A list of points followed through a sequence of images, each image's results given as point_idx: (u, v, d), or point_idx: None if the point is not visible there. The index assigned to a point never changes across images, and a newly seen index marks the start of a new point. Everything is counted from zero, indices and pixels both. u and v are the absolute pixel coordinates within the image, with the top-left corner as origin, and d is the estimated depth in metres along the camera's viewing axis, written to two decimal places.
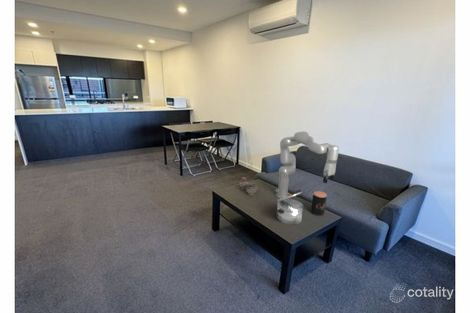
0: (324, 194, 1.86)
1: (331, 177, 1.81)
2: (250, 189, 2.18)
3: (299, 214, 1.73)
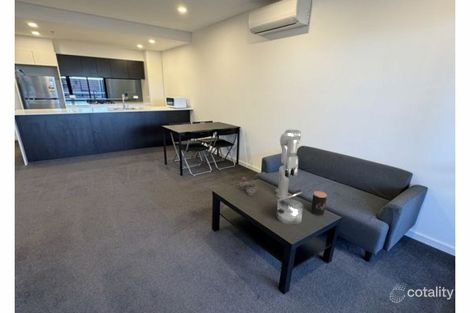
0: (324, 194, 1.86)
1: (291, 172, 1.77)
2: (250, 189, 2.18)
3: (299, 214, 1.73)
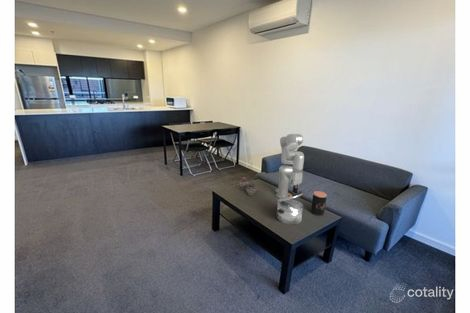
0: (324, 194, 1.86)
1: None
2: (250, 189, 2.18)
3: (299, 214, 1.73)
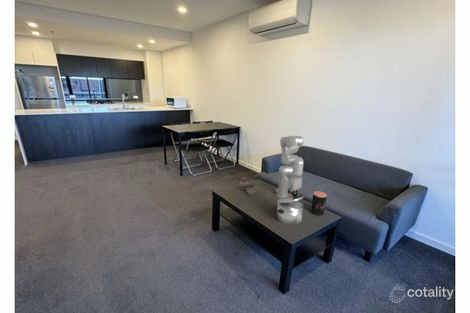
0: (324, 194, 1.86)
1: None
2: (250, 189, 2.18)
3: (299, 214, 1.73)
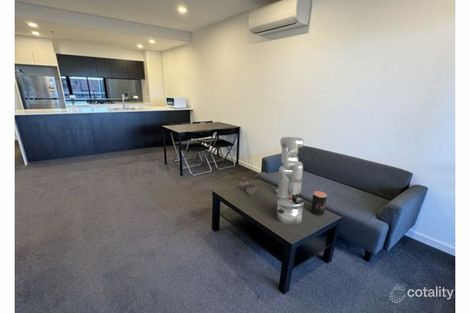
0: (324, 194, 1.86)
1: None
2: (250, 189, 2.18)
3: (299, 214, 1.73)
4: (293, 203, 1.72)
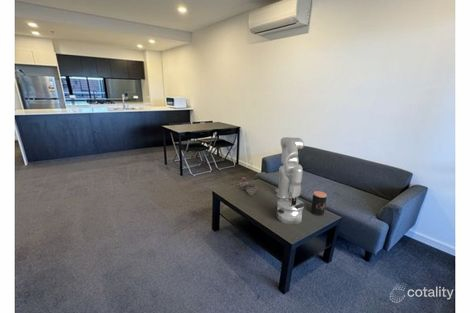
0: (324, 194, 1.86)
1: None
2: (250, 189, 2.18)
3: (299, 214, 1.73)
4: (293, 206, 1.72)
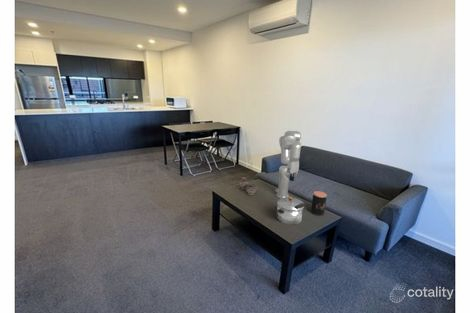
0: (324, 194, 1.86)
1: None
2: (250, 189, 2.18)
3: (299, 214, 1.73)
4: (293, 206, 1.72)
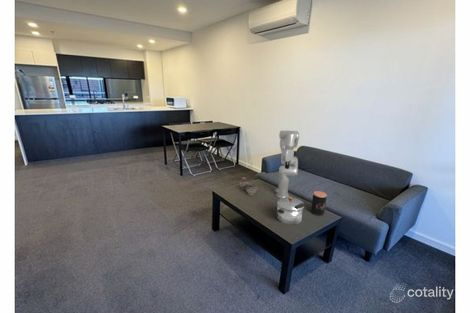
0: (324, 194, 1.86)
1: None
2: (250, 189, 2.18)
3: (299, 214, 1.73)
4: (293, 206, 1.72)
